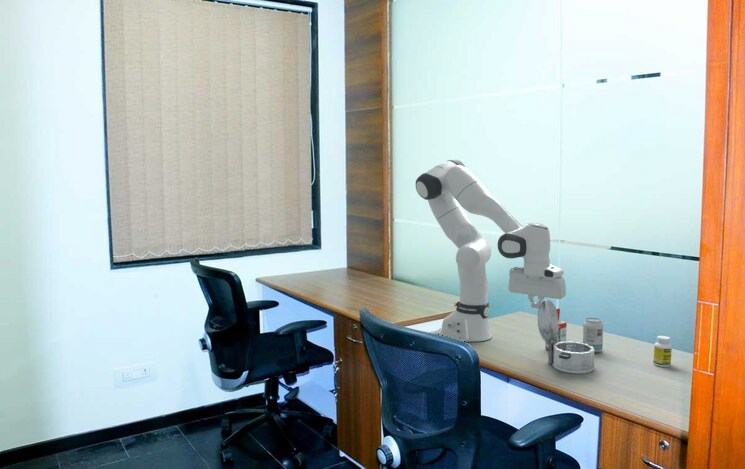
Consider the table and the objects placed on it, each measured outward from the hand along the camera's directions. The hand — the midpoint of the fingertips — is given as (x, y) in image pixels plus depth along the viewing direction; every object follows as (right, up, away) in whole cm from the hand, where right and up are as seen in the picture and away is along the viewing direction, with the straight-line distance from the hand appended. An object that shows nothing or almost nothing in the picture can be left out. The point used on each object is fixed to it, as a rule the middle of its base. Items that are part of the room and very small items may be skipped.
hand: (535, 307), depth 211 cm
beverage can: (+24, -18, +10) cm, 31 cm away
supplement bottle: (+42, -19, -5) cm, 47 cm away
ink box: (+11, -17, +14) cm, 25 cm away
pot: (+11, -20, -7) cm, 23 cm away
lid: (+4, -5, -3) cm, 7 cm away
